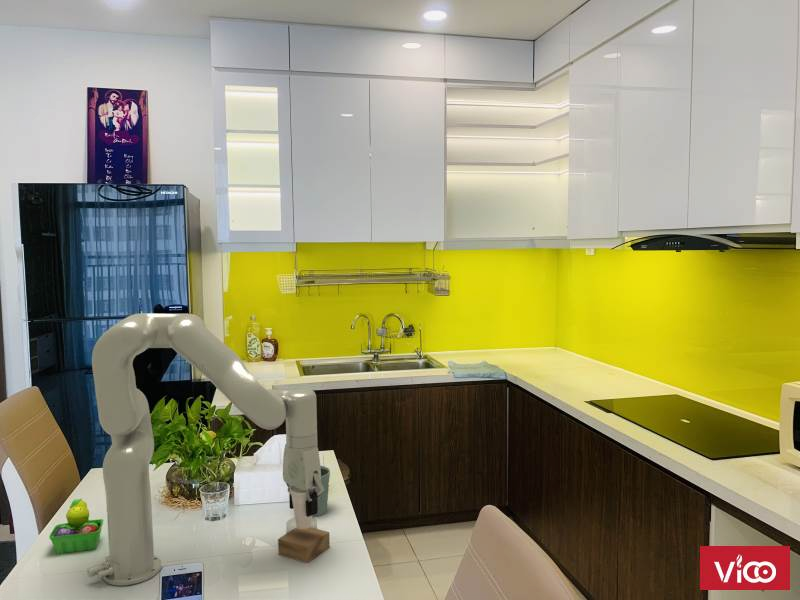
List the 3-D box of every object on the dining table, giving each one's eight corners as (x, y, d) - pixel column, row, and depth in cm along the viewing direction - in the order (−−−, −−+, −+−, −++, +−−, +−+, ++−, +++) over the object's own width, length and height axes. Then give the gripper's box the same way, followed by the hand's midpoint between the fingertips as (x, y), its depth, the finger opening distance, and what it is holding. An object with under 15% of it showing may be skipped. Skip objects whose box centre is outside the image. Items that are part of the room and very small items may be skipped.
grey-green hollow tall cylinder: (293, 506, 185) (292, 466, 184) (327, 502, 188) (326, 462, 187) (297, 521, 176) (296, 479, 174) (333, 516, 178) (332, 475, 177)
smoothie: (311, 532, 154) (310, 476, 153) (286, 530, 156) (285, 474, 154) (320, 521, 160) (318, 467, 159) (296, 519, 162) (294, 465, 161)
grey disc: (298, 541, 163) (298, 532, 163) (280, 531, 169) (280, 522, 169) (323, 531, 169) (322, 522, 169) (304, 522, 175) (304, 513, 175)
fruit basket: (49, 557, 156) (46, 513, 155) (58, 541, 165) (55, 499, 164) (99, 551, 159) (97, 507, 158) (106, 535, 168) (103, 494, 167)
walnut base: (307, 563, 152) (307, 547, 152) (278, 554, 157) (278, 538, 156) (329, 547, 160) (329, 532, 160) (301, 539, 165) (300, 524, 164)
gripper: (268, 436, 159) (270, 505, 161) (311, 451, 147) (313, 526, 149) (293, 429, 165) (294, 497, 166) (336, 444, 153) (337, 516, 154)
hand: (303, 510), depth 158 cm, fingers closed on smoothie, 5 cm apart
